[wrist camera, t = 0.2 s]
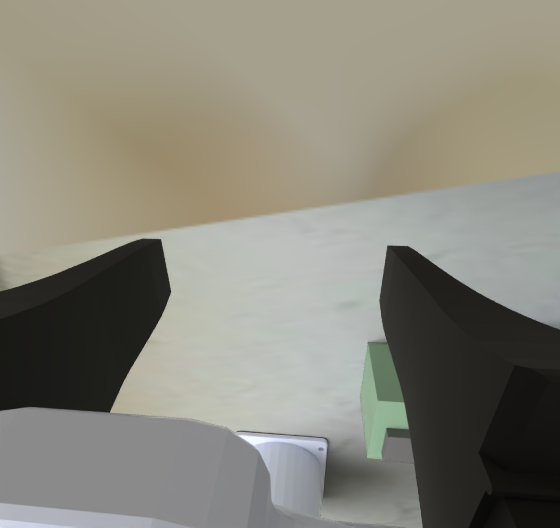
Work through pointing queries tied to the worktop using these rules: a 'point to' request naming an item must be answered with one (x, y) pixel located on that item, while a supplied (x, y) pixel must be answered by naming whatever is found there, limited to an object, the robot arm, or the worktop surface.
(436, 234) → the worktop surface
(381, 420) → the block
